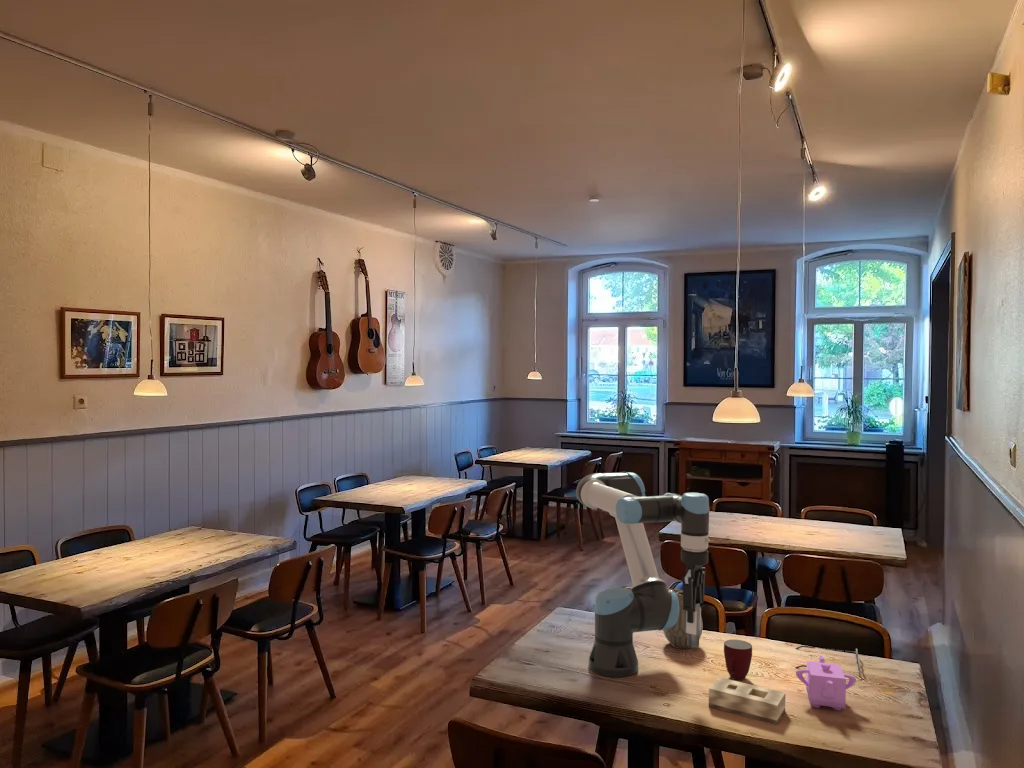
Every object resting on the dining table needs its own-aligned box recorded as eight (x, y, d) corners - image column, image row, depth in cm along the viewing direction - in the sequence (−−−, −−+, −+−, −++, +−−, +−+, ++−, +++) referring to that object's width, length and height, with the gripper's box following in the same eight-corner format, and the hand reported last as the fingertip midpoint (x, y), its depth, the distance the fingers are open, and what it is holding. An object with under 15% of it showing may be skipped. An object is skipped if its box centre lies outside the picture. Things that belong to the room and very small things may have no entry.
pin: (685, 646, 205) (686, 603, 205) (689, 642, 208) (690, 600, 207) (696, 648, 203) (697, 605, 203) (700, 645, 206) (701, 602, 206)
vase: (706, 653, 237) (707, 599, 236) (666, 652, 237) (667, 599, 237) (697, 638, 250) (697, 587, 250) (658, 637, 250) (659, 587, 250)
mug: (745, 688, 210) (745, 654, 210) (717, 682, 214) (718, 648, 214) (754, 676, 219) (755, 643, 219) (727, 669, 223) (728, 637, 223)
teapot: (866, 710, 197) (866, 670, 197) (830, 719, 191) (830, 678, 191) (820, 688, 211) (821, 650, 211) (786, 696, 205) (786, 658, 205)
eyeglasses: (862, 679, 218) (861, 666, 218) (794, 671, 225) (794, 658, 225) (857, 658, 235) (857, 645, 235) (795, 651, 242) (794, 639, 242)
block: (708, 706, 198) (708, 688, 198) (718, 694, 206) (719, 677, 206) (777, 724, 188) (777, 705, 188) (785, 711, 196) (785, 692, 196)
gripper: (698, 556, 196) (696, 643, 196) (716, 545, 209) (715, 625, 210) (671, 552, 200) (670, 637, 201) (691, 541, 214) (690, 620, 214)
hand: (693, 631), depth 205 cm, fingers closed on pin, 3 cm apart
